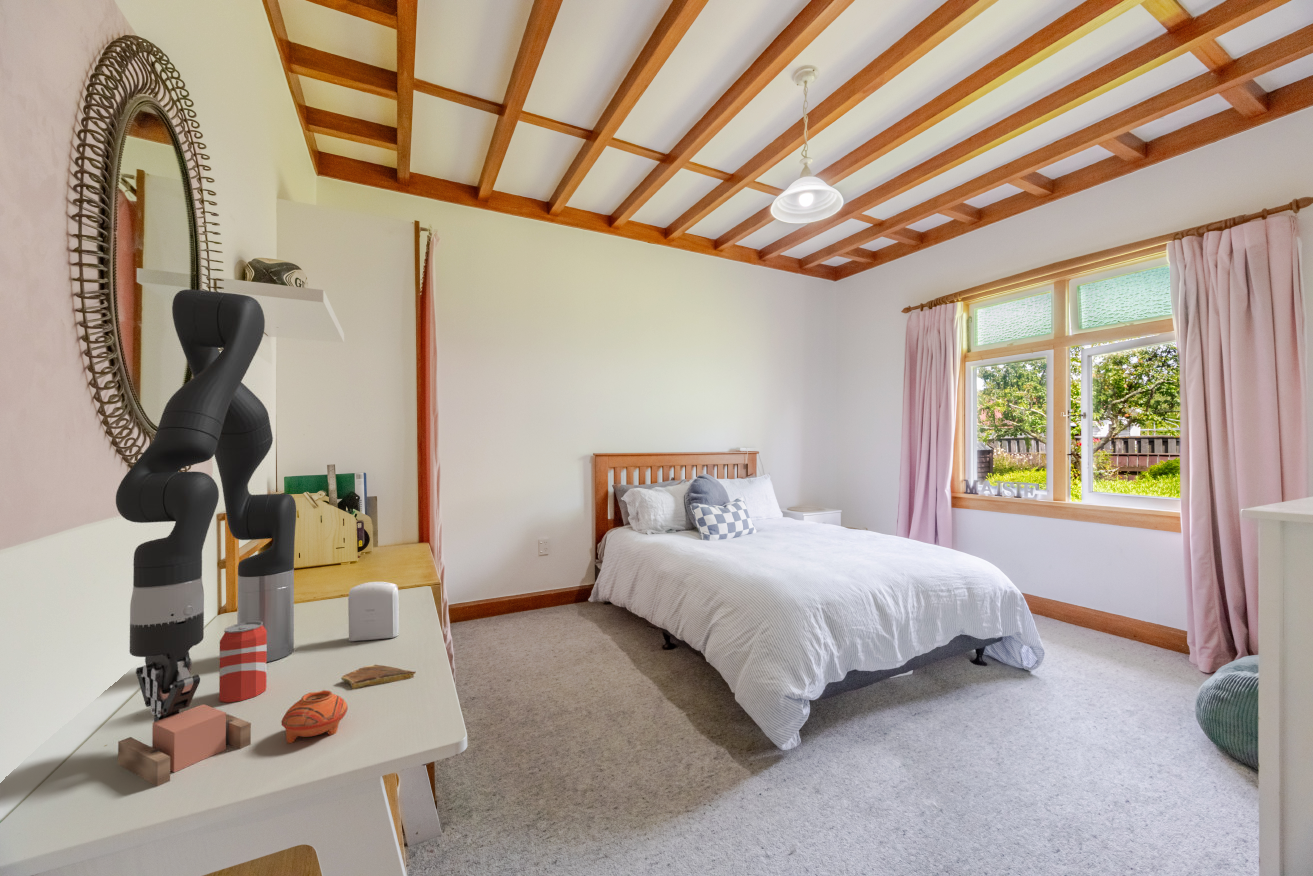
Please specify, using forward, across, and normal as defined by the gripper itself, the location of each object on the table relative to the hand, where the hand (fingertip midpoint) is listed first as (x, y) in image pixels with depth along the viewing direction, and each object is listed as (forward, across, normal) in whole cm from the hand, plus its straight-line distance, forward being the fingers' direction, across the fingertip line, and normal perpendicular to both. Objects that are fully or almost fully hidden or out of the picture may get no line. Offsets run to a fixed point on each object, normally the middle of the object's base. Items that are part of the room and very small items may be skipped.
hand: (166, 739), depth 71 cm
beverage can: (+2, -9, +13) cm, 16 cm away
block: (+1, +6, 0) cm, 6 cm away
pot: (+2, +16, +11) cm, 19 cm away
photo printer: (+2, -15, +41) cm, 44 cm away
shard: (+2, +5, +28) cm, 29 cm away
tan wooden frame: (+2, +6, 0) cm, 7 cm away
